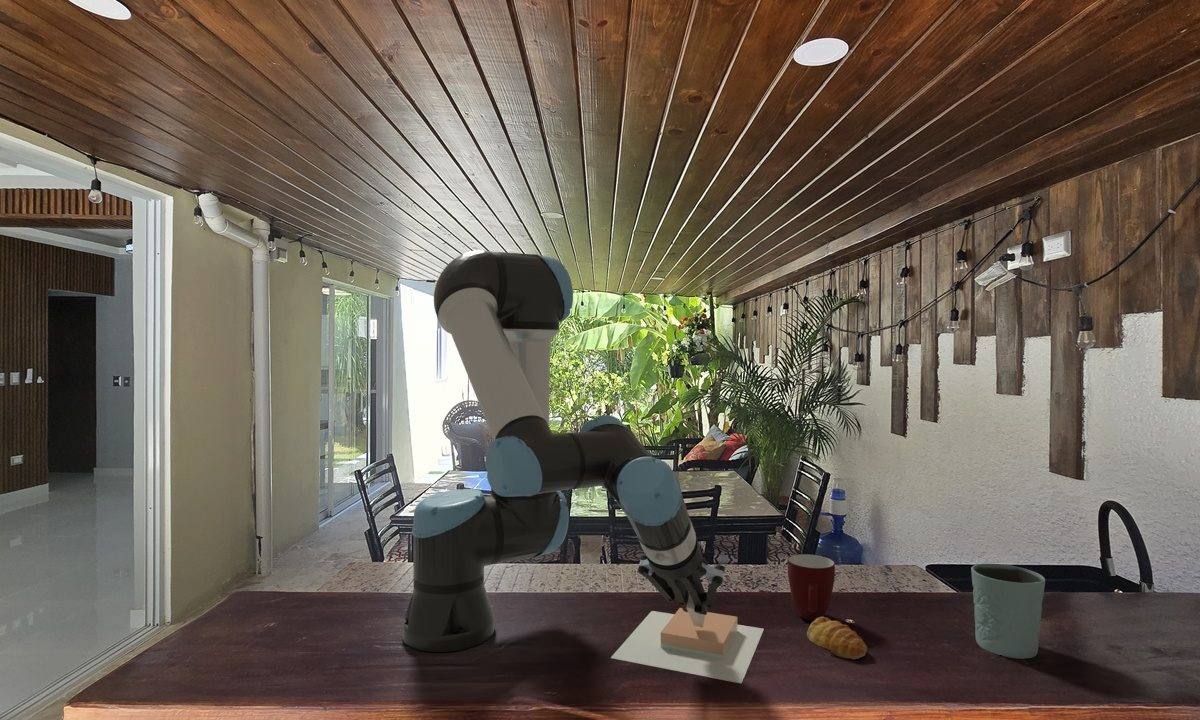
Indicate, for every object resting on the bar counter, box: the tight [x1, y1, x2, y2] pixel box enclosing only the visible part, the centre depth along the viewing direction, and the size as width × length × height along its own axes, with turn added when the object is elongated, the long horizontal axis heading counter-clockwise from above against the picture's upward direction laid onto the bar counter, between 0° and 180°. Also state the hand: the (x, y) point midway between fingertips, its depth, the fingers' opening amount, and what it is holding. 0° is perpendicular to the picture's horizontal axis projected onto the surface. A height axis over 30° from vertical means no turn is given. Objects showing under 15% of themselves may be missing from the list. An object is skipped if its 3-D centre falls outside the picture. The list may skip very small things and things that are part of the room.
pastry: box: [806, 616, 868, 660], centre depth 106 cm, size 9×7×4 cm
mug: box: [787, 553, 836, 622], centre depth 118 cm, size 11×8×10 cm
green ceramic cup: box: [970, 563, 1046, 660], centre depth 107 cm, size 10×10×12 cm
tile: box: [661, 607, 738, 659], centre depth 108 cm, size 10×2×11 cm
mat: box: [610, 610, 765, 685], centre depth 107 cm, size 20×20×1 cm
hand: (699, 618), depth 107 cm, fingers closed
